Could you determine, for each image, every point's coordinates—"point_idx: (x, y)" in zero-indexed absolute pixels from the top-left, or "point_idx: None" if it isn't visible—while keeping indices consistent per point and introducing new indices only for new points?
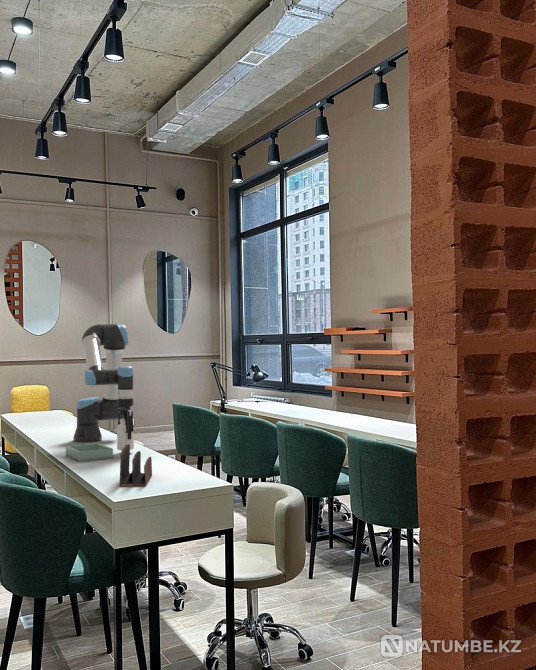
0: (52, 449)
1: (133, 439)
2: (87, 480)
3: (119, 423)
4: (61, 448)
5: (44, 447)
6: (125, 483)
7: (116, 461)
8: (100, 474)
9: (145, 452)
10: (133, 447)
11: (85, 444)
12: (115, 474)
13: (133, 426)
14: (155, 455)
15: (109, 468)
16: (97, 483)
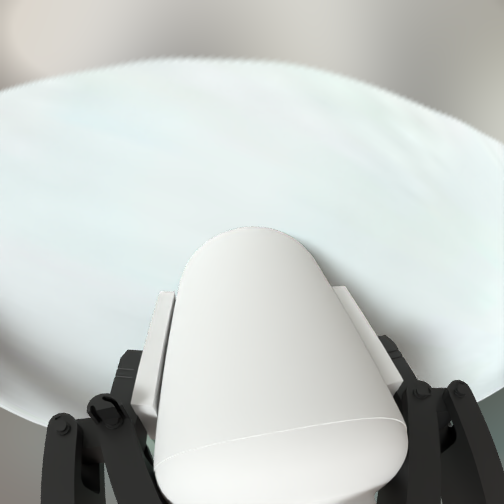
0: (37, 418)
1: (321, 282)
2: (480, 400)
3: (100, 497)
4: (20, 400)
5: (8, 410)
6: None
7: (419, 356)
8: (477, 387)
9: (316, 127)
10: (293, 239)
11: (148, 445)
12: (500, 364)
13: (357, 419)
14: (451, 144)
15: (463, 375)
16: (500, 385)
